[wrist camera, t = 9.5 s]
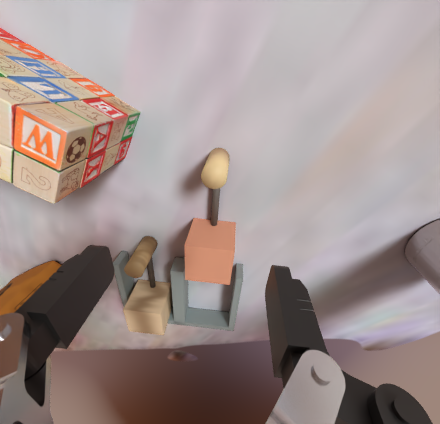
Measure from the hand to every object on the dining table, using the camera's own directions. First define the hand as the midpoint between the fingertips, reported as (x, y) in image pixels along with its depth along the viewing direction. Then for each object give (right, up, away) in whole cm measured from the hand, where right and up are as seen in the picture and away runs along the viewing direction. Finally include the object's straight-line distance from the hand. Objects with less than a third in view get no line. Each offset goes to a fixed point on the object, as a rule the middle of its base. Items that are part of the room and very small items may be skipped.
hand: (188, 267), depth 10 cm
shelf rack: (-5, -11, +28) cm, 30 cm away
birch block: (-10, -8, +26) cm, 29 cm away
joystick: (+1, +3, +19) cm, 19 cm away
